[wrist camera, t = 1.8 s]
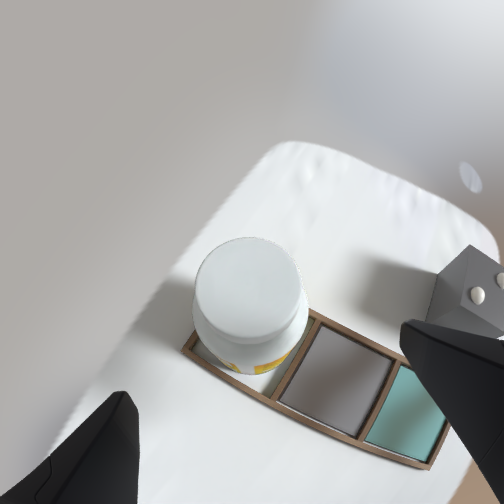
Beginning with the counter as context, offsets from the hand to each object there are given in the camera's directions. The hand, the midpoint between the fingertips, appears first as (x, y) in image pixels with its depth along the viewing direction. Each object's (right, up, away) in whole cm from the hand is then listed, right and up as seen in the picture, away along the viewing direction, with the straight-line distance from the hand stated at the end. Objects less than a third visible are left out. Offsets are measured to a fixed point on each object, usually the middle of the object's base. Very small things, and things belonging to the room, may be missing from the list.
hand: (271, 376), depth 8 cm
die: (+16, -1, +11) cm, 19 cm away
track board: (+5, -5, +9) cm, 12 cm away
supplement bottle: (0, -2, +11) cm, 11 cm away
